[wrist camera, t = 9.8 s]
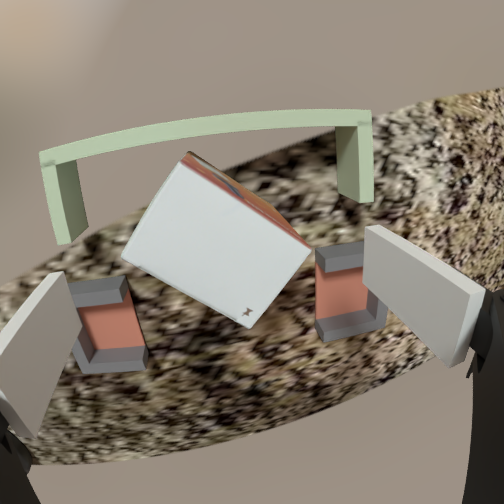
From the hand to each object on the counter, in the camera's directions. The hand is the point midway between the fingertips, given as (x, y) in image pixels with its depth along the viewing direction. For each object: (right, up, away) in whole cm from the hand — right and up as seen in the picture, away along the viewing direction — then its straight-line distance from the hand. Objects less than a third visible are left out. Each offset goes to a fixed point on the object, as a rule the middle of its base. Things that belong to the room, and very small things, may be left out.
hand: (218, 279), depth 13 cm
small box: (-2, +5, +12) cm, 13 cm away
